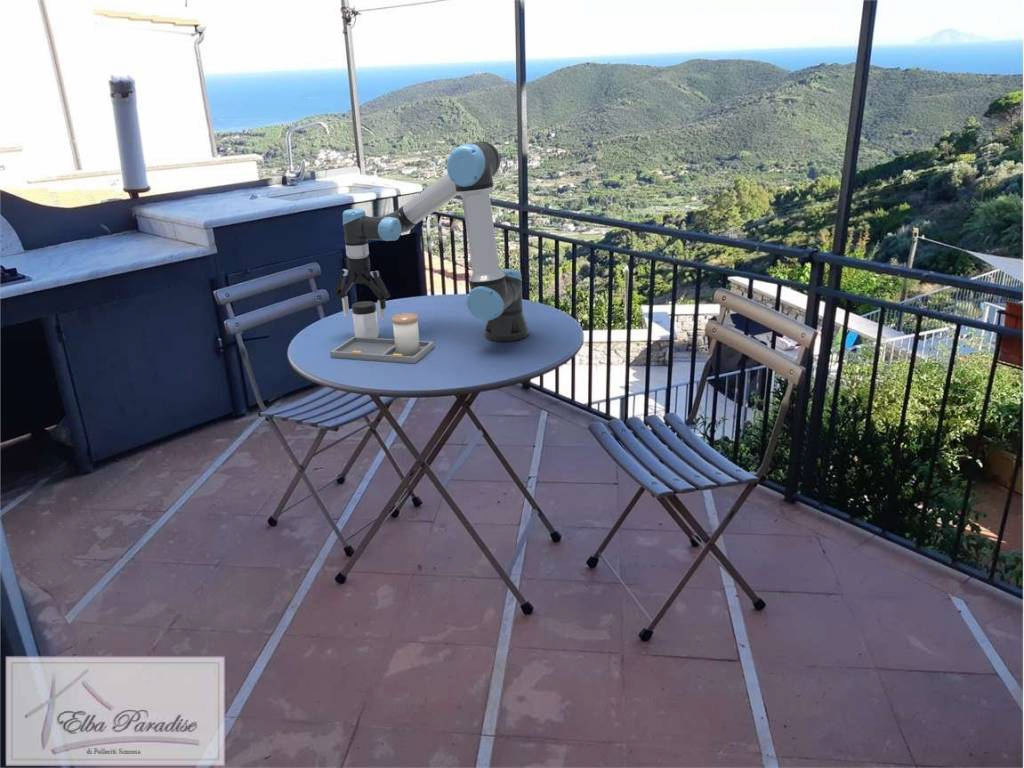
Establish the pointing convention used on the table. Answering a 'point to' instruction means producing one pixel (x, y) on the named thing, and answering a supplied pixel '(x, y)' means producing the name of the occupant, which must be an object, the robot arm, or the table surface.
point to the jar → (365, 319)
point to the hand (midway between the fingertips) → (364, 316)
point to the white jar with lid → (406, 334)
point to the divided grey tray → (377, 350)
